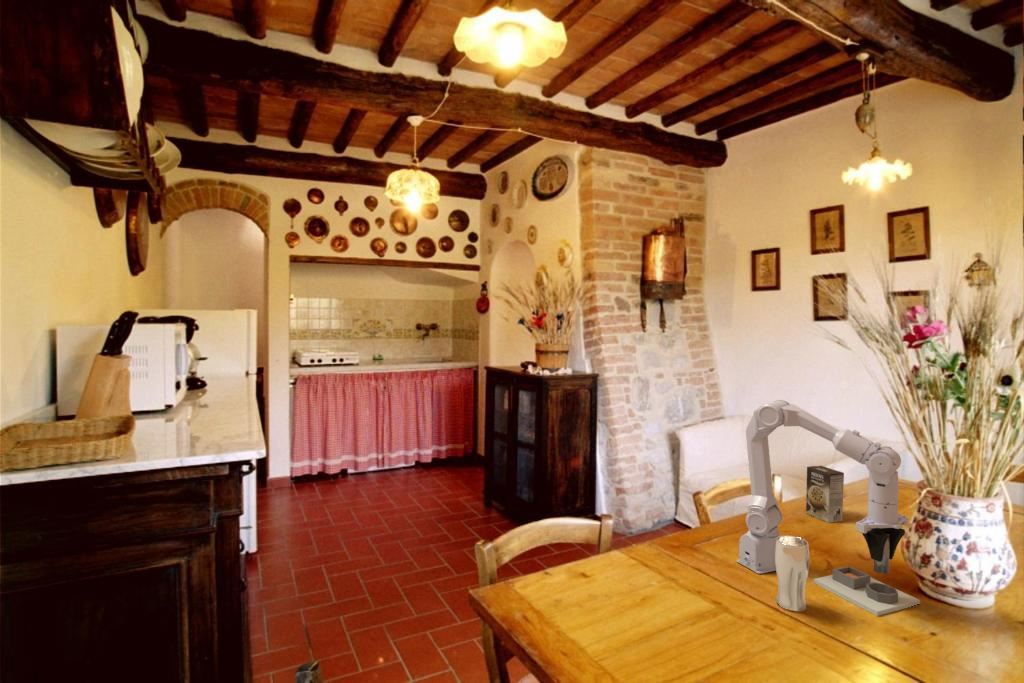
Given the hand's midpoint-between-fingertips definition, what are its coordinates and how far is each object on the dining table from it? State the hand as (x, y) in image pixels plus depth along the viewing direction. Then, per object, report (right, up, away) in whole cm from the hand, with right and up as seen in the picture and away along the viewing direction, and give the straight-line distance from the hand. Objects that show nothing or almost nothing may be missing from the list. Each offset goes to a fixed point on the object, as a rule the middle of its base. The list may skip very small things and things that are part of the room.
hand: (881, 558), depth 124 cm
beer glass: (-22, -10, -1) cm, 24 cm away
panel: (-1, -10, +4) cm, 11 cm away
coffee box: (+18, -8, +54) cm, 57 cm away
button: (-3, -9, +7) cm, 11 cm away
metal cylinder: (0, -3, 0) cm, 3 cm away
